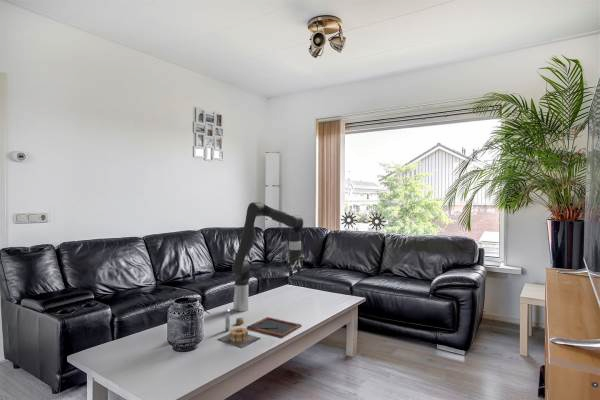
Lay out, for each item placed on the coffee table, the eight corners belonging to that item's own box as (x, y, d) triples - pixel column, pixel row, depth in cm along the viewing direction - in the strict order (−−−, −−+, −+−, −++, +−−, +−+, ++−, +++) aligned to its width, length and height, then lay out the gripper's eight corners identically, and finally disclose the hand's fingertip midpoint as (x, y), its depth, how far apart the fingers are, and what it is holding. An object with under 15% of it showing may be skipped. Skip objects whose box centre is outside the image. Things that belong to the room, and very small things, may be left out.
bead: (234, 324, 208) (234, 319, 208) (239, 322, 212) (239, 317, 212) (239, 325, 206) (239, 320, 206) (245, 323, 209) (245, 318, 209)
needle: (224, 330, 197) (224, 309, 197) (227, 329, 199) (227, 308, 199) (227, 331, 196) (227, 310, 196) (230, 330, 198) (230, 309, 198)
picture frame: (246, 329, 201) (282, 339, 187) (246, 326, 201) (282, 335, 187) (267, 319, 218) (301, 327, 204) (267, 316, 218) (301, 324, 204)
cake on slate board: (217, 339, 185) (217, 331, 185) (236, 331, 196) (236, 323, 196) (242, 347, 175) (242, 339, 175) (260, 338, 186) (260, 330, 186)
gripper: (296, 246, 218) (296, 272, 218) (283, 249, 206) (283, 276, 206) (306, 247, 214) (306, 273, 214) (293, 250, 202) (293, 278, 202)
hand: (294, 275), depth 210 cm, fingers open, 8 cm apart
